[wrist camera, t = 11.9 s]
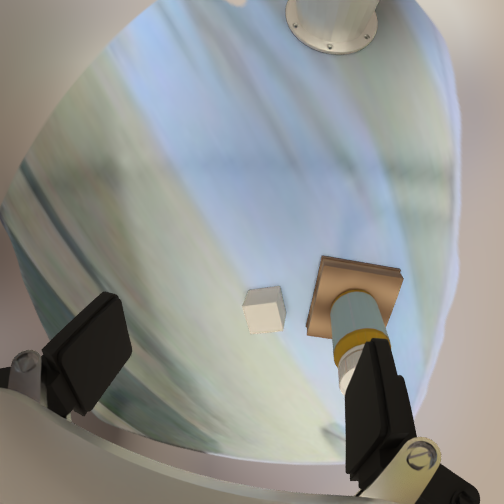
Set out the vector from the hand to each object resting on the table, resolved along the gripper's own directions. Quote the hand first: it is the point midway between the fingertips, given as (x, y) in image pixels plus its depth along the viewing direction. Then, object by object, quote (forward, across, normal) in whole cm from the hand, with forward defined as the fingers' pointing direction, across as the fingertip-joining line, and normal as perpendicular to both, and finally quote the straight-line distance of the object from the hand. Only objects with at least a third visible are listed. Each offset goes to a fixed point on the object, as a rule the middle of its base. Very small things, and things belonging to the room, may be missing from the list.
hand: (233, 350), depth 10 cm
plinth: (+31, -12, +16) cm, 37 cm away
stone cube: (+31, +2, +18) cm, 36 cm away
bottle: (+28, -11, +16) cm, 34 cm away
